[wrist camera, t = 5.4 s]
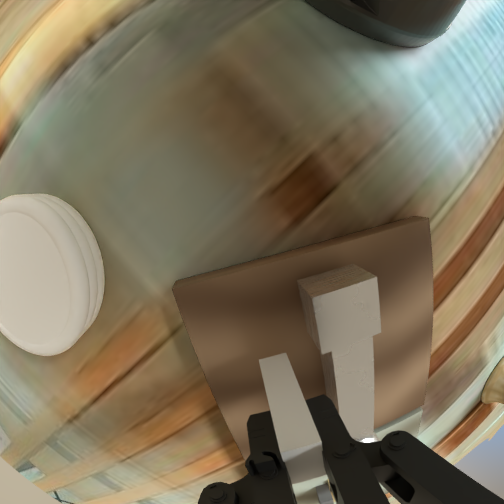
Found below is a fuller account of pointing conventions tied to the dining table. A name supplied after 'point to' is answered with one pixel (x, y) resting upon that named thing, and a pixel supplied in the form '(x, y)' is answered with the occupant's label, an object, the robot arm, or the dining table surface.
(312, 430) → the robot arm
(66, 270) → the coaster
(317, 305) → the swing bar
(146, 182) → the dining table surface
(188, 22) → the dining table surface
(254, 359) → the door board
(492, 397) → the hand bell
